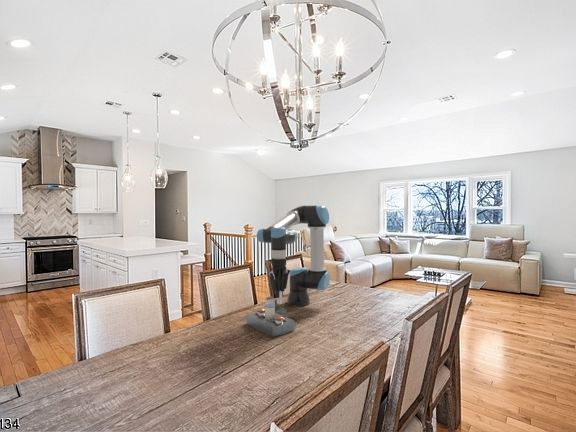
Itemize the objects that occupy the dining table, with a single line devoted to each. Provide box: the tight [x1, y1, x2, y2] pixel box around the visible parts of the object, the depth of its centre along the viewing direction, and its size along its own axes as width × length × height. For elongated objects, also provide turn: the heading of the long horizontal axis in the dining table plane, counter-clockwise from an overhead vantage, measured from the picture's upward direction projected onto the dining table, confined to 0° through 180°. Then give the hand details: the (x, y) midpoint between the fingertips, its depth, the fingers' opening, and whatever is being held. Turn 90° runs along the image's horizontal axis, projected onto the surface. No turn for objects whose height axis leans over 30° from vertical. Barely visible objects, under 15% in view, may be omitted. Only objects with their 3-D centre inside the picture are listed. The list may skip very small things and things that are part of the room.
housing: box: [246, 311, 296, 338], centre depth 169 cm, size 14×24×5 cm, turn 39°
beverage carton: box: [275, 299, 288, 318], centre depth 189 cm, size 8×19×7 cm, turn 14°
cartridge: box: [264, 296, 276, 321], centre depth 169 cm, size 5×5×16 cm
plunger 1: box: [256, 307, 265, 316], centre depth 176 cm, size 5×5×7 cm
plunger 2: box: [274, 315, 284, 324], centre depth 163 cm, size 5×5×7 cm
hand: (279, 303), depth 163 cm, fingers closed
